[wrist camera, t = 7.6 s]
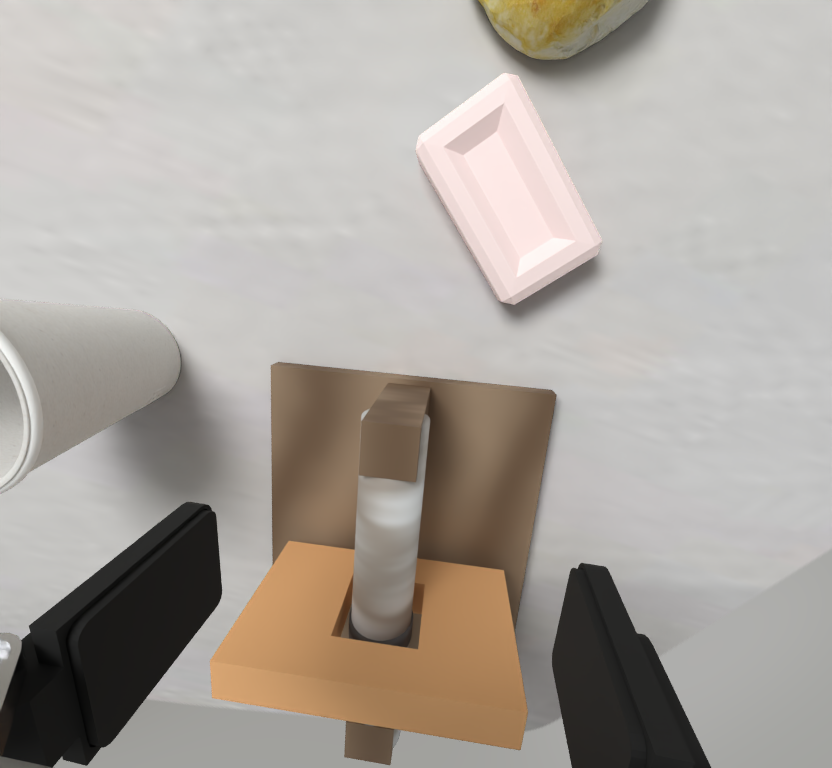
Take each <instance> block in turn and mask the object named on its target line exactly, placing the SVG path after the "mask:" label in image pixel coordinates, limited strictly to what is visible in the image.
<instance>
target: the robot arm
mask: <svg viewBox="0 0 832 768" xmlns="http://www.w3.org/2000/svg"><path fill="white" fill-rule="evenodd" d="M221 595H222V583H221V571H220V558H219V546H218V533H217V521H216V514H215V512H213V511H212V510H211V507H210V506H209V505H206V504H199V503H193V502H186V503H184V504H182V505H181V506H180V507H178V508H177V509H176V510H175V511H173V512H172V513H171V514H170V515H168V516H167V517H166V518H165V519H163V520H162V521H161V522H160V523H158V524H157V525H156V526H154V527H153V528H152V529H151V530H149V531H148V532H147V533H146V534H144V535H143V536H142V537H141V538H139V539H138V540H137V541H136V542H134V543H133V544H132V545H130V546H129V547H128V548H127V549H125V550H124V551H123V552H122V553H120V554H119V555H118V556H117V557H115V558H114V559H113V560H112V561H110V562H109V563H108V564H106V565H105V566H104V567H103V568H101V569H100V570H99V571H98V572H96V573H95V574H94V575H93V576H91V577H90V578H89V579H88V580H86V581H85V582H84V583H82V584H81V585H80V586H79V587H77V588H76V589H75V590H74V591H72V592H71V593H70V594H69V595H67V596H66V597H65V598H64V599H62V600H61V601H60V602H58V603H57V604H56V605H55V606H53V607H52V608H51V609H50V610H48V611H47V612H46V613H45V614H43V615H42V616H41V617H40V618H38V619H37V620H36V621H34V622H33V623H32V624H31V625H29V628H30V632H31V633H29V634H28V635H27V636H26V637H25V638H23V639H22V640H20V639H19V637H18V636H17V635H14V634H11V633H0V768H52V767H53V766H54V765H55V764H56V763H57V761H58V760H59V759H60V758H61V757H63V760H66V761H70V762H74V763H78V764H82V765H88V764H89V762H90V761H91V760H92V759H93V757H94V756H95V755H96V753H97V752H98V751H99V750H100V748H101V747H106V746H107V745H109V744H110V743H111V742H112V741H113V740H114V739H115V738H116V736H117V735H118V734H119V732H120V731H121V730H122V728H123V727H124V726H125V725H126V723H127V722H128V721H129V719H130V718H131V717H132V716H133V714H134V713H135V712H136V710H137V709H138V708H139V706H140V705H141V704H142V703H143V701H144V700H145V699H146V697H147V696H148V695H149V694H150V692H151V691H152V690H153V688H154V687H155V686H156V685H157V683H158V682H159V681H160V679H161V678H162V677H163V675H164V674H165V673H166V672H167V670H168V669H169V668H170V666H171V665H172V664H173V663H174V661H175V660H176V659H177V657H178V656H179V655H180V653H181V652H182V651H183V650H184V648H185V647H186V646H187V644H188V643H189V642H190V641H191V639H192V638H193V637H194V635H195V634H196V633H197V632H198V630H199V629H200V628H201V626H202V625H203V624H204V622H205V621H206V620H207V619H208V617H209V616H210V615H211V613H212V612H213V611H214V610H215V608H216V607H217V605H218V604H219V602H220V599H221ZM552 667H553V673H554V678H555V683H556V688H557V693H558V698H559V703H560V709H561V714H562V719H563V724H564V729H565V734H566V739H567V744H568V749H569V754H570V759H571V765H572V768H711V766H710V764H709V762H708V760H707V758H706V756H705V754H704V752H703V749H702V747H701V746H700V743H699V741H698V739H697V737H696V735H695V733H694V731H693V729H692V726H691V725H690V722H689V720H688V718H687V716H686V714H685V712H684V710H683V708H682V705H681V704H680V701H679V699H678V697H677V695H676V693H675V691H674V689H673V687H672V685H671V683H670V680H669V678H668V676H667V674H666V672H665V670H664V668H663V666H662V664H661V661H660V659H659V657H658V655H657V653H656V651H655V649H654V647H653V645H652V643H651V642H650V640H649V638H648V637H646V636H645V635H643V634H638V633H636V631H635V629H634V626H633V624H632V622H631V620H630V617H629V615H628V613H627V611H626V608H625V606H624V604H623V602H622V600H621V597H620V595H619V593H618V591H617V588H616V586H615V584H614V582H613V579H612V577H611V575H610V573H609V571H608V569H607V568H606V567H604V566H598V565H591V564H585V563H581V564H580V565H579V567H578V569H576V568H572V569H571V571H570V575H569V579H568V584H567V588H566V593H565V598H564V602H563V607H562V611H561V616H560V620H559V625H558V629H557V634H556V639H555V643H554V648H553V653H552Z"/></svg>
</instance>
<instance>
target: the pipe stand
mask: <svg viewBox="0 0 832 768" xmlns="http://www.w3.org/2000/svg"><path fill="white" fill-rule="evenodd" d="M555 400H556V394H555V393H554V392H553V391H552V390H546V389H536V388H526V387H516V386H507V385H497V384H487V383H477V382H468V381H458V380H448V379H438V378H428V377H419V376H409V375H399V374H389V373H380V372H370V371H360V370H350V369H341V368H331V367H321V366H311V365H301V364H292V363H282V362H278V363H275V364H273V365H271V433H272V541H273V564H274V563H275V561H276V559H277V558H278V556H279V555H280V553H281V552H282V550H283V549H284V547H285V546H286V544H287V543H288V541H294V542H302V543H309V544H316V545H324V546H331V547H338V548H346V549H353V550H355V554H354V574H353V593H352V604H351V607H350V610H349V613H348V616H347V619H346V622H345V625H344V628H343V631H342V634H341V638H347V639H354V640H360V641H367V642H373V643H380V644H386V645H393V646H399V647H406V648H412V649H418V646H419V636H420V626H421V617H422V614H416V613H413V611H412V605H413V595H414V584H415V574H416V564H417V558H419V559H426V560H433V561H441V562H448V563H455V564H463V565H470V566H477V567H484V568H492V569H499V570H504V574H505V580H506V586H507V592H508V597H509V603H510V609H511V615H512V621H513V627H514V632H515V626H516V621H517V615H518V610H519V604H520V598H521V593H522V587H523V581H524V576H525V570H526V564H527V559H528V553H529V547H530V542H531V536H532V530H533V525H534V519H535V513H536V508H537V502H538V496H539V491H540V485H541V479H542V474H543V468H544V462H545V457H546V451H547V446H548V440H549V434H550V429H551V423H552V417H553V412H554V406H555ZM345 736H346V737H345V755H344V756H345V757H347V758H353V759H358V760H364V761H369V762H376V763H381V764H386V765H390V763H391V756H392V749H393V748H394V746H395V745H396V743H397V741H398V739H399V736H400V730H398V729H392V728H386V727H380V726H374V725H368V724H362V723H356V722H351V721H346V735H345Z"/></svg>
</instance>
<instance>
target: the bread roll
mask: <svg viewBox="0 0 832 768" xmlns="http://www.w3.org/2000/svg"><path fill="white" fill-rule="evenodd" d="M478 1H479V2H480V4H481V5H482V6H483V7H484V9H485V11H486V14H487V16H488V18H489V20H490V22H491V24H492V25H493V27H494V29H495V30H496V31H497V32H498V34H499V35H500V36H501V37H502V38H503V39H504V40H505V41H506V42H507V43H508V44H510V45H511V46H512V47H513V48H515V49H516V50H518V51H520V52H522V53H524V54H525V55H527V56H529V57H531V58H536V59H542V60H552V59H567V58H569V57H571V56H573V55H575V54H577V53H579V52H581V51H582V50H584V49H586V48H587V47H589V46H591V45H593V44H595V43H597V42H599V41H600V40H601V39H603V38H604V37H606V36H607V35H608V34H609V33H610V32H612V31H614V30H615V29H617V28H618V27H619V26H620V25H621V24H622V23H623V22H625V21H626V20H628V19H629V18H630V17H631V16H632V15H633V14H635V13H636V12H638V11H639V10H640V9H642V7H643V6H644V5H645V4H646V3H647V2H648V1H649V0H478Z"/></svg>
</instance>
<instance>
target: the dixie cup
mask: <svg viewBox="0 0 832 768" xmlns="http://www.w3.org/2000/svg"><path fill="white" fill-rule="evenodd" d="M180 369H181V358H180V352H179V348H178V346H177V343H176V341H175V339H174V337H173V335H172V334H171V332H170V331H169V330H168V328H167V327H166V326H165V325H164V324H163V323H162V322H161V321H159V320H158V319H157V318H155V317H154V316H152V315H150V314H148V313H146V312H143V311H140V310H134V309H122V308H110V307H97V306H85V305H73V304H60V303H48V302H35V301H23V300H10V299H0V494H1V493H4V492H6V491H8V490H9V489H11V488H13V487H14V486H16V485H17V484H18V483H19V482H20V481H22V480H23V479H24V478H25V477H26V475H27V474H28V473H29V472H30V471H32V470H34V469H36V468H37V467H39V466H41V465H43V464H44V463H46V462H48V461H50V460H51V459H53V458H55V457H57V456H58V455H60V454H62V453H64V452H65V451H67V450H69V449H71V448H72V447H74V446H76V445H78V444H79V443H81V442H83V441H85V440H86V439H88V438H90V437H92V436H93V435H95V434H97V433H99V432H100V431H102V430H104V429H106V428H107V427H109V426H111V425H113V424H114V423H116V422H118V421H120V420H121V419H123V418H125V417H127V416H128V415H130V414H132V413H134V412H136V411H138V410H140V409H142V408H143V407H145V406H147V405H149V404H150V403H152V402H153V401H155V400H156V399H158V398H160V397H162V396H163V395H165V394H166V393H168V392H169V391H170V390H171V389H172V388H173V387H174V385H175V384H176V382H177V380H178V377H179V374H180Z"/></svg>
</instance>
